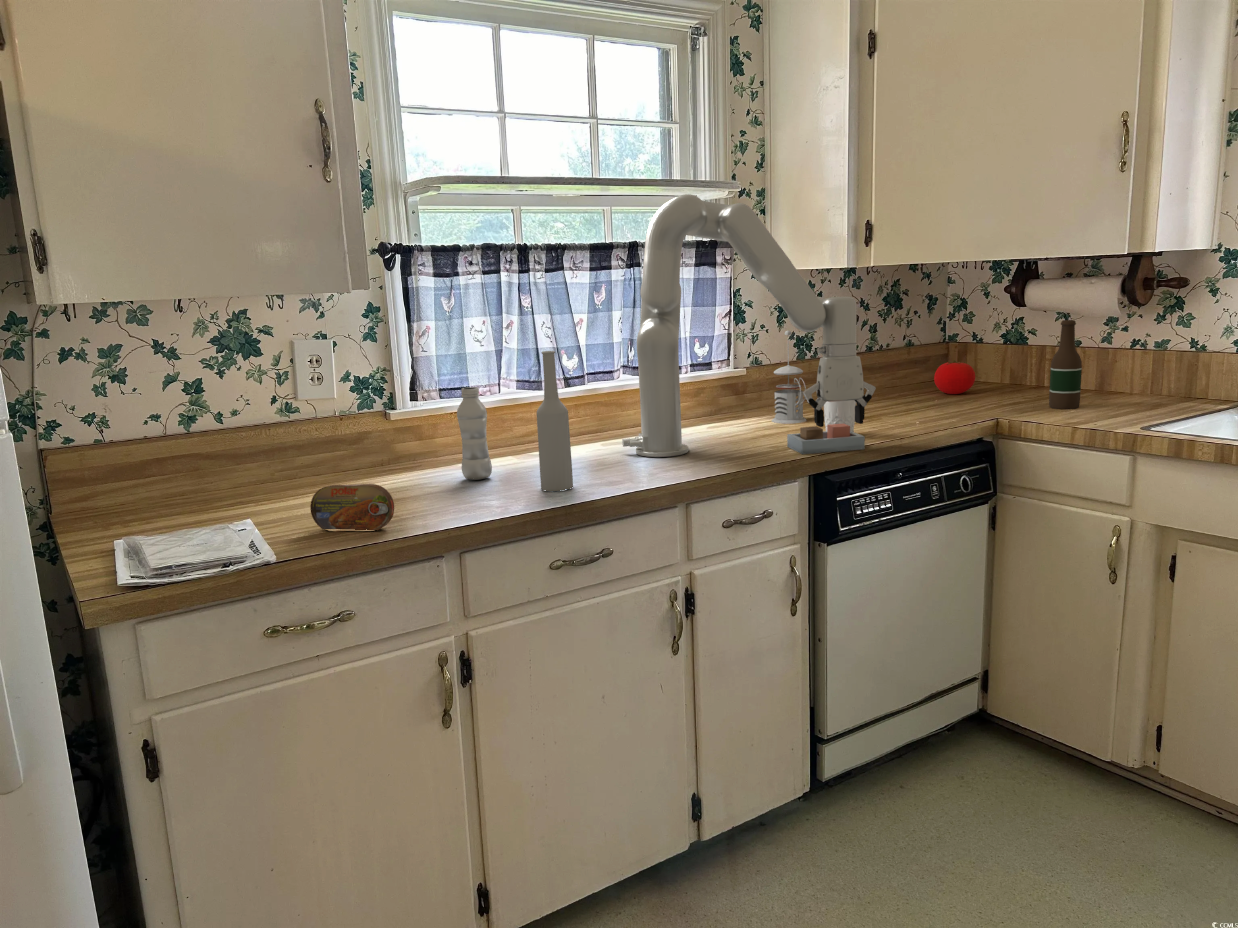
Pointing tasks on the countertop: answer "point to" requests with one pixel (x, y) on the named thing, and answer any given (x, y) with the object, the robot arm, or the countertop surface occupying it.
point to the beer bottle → (1065, 371)
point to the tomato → (954, 377)
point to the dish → (825, 443)
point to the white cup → (840, 413)
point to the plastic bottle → (473, 435)
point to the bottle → (553, 433)
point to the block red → (838, 430)
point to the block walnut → (811, 433)
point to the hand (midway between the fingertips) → (839, 424)
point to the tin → (352, 507)
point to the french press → (789, 396)
